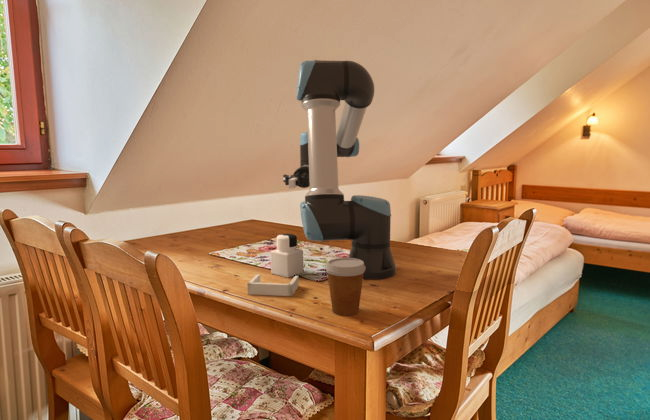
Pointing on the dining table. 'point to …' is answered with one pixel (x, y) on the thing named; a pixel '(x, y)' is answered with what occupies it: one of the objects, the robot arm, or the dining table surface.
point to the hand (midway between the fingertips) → (291, 184)
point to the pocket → (272, 287)
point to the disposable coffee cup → (345, 284)
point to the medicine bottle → (286, 257)
